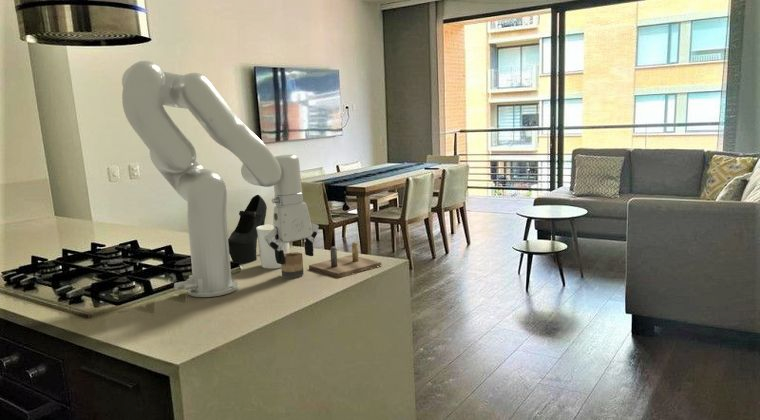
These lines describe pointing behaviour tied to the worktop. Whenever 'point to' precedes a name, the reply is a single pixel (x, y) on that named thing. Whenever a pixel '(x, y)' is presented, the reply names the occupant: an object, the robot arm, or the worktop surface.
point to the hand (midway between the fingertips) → (295, 259)
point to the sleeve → (292, 265)
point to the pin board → (344, 263)
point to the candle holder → (268, 248)
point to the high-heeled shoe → (247, 231)
